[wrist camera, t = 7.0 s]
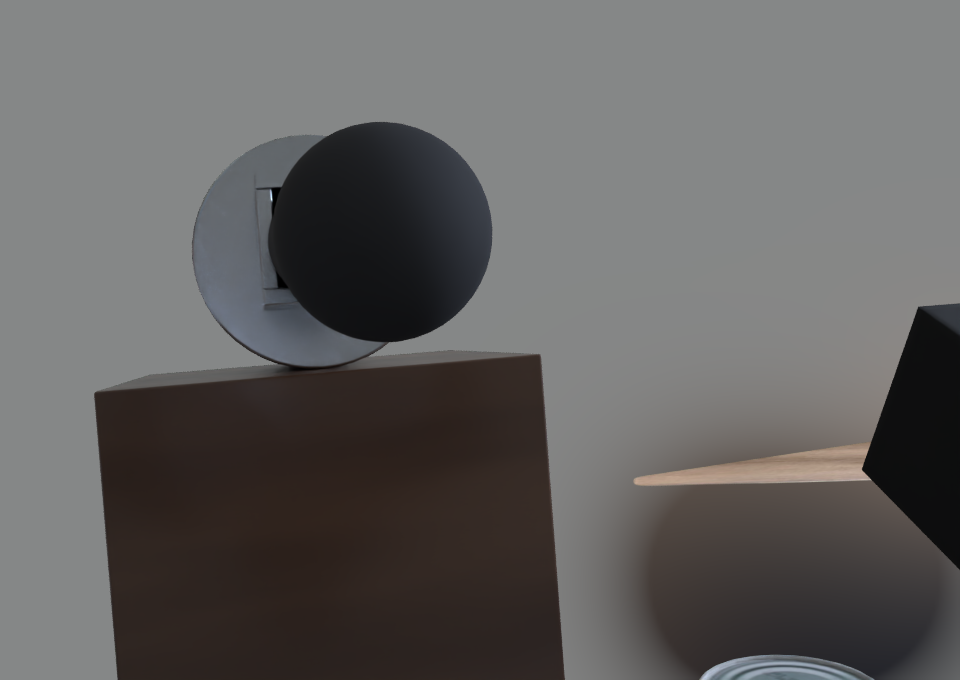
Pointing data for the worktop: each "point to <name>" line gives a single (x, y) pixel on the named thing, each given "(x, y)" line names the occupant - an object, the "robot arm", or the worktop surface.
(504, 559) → the stand
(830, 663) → the canned food
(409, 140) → the stopper
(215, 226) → the flask
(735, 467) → the worktop surface
